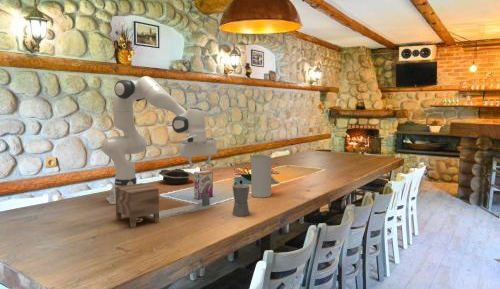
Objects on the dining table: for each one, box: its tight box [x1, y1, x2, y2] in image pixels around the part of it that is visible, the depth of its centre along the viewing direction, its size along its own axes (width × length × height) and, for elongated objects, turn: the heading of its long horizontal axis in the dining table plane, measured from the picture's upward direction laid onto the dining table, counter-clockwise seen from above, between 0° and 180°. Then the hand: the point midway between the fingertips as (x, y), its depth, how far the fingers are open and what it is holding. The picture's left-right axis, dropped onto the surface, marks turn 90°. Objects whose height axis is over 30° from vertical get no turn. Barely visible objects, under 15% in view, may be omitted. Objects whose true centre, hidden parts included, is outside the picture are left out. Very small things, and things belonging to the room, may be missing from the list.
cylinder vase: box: [250, 154, 272, 199], centre depth 238 cm, size 12×12×25 cm
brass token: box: [136, 217, 144, 223], centre depth 187 cm, size 5×5×1 cm
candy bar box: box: [193, 169, 214, 200], centre depth 234 cm, size 11×5×16 cm, turn 135°
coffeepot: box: [232, 179, 250, 217], centre depth 199 cm, size 15×9×18 cm, turn 25°
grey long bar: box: [146, 193, 213, 220], centre depth 203 cm, size 36×8×7 cm, turn 132°
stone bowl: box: [158, 168, 194, 185], centre depth 281 cm, size 25×25×9 cm
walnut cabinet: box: [115, 182, 160, 229], centre depth 186 cm, size 18×15×16 cm
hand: (199, 164), depth 198 cm, fingers open, 8 cm apart
